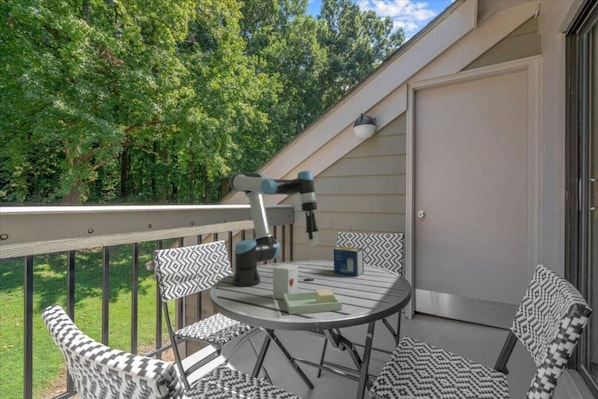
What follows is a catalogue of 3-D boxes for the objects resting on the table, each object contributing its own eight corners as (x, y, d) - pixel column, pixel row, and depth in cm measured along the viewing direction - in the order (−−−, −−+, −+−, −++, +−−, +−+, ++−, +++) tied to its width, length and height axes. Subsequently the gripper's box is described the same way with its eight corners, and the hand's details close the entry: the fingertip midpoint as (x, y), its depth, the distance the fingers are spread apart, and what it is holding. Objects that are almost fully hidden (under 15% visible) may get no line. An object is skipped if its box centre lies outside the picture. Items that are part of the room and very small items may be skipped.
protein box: (341, 270, 200) (341, 246, 200) (363, 273, 191) (363, 248, 191) (333, 273, 192) (333, 248, 192) (356, 277, 183) (356, 250, 183)
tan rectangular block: (315, 301, 140) (315, 290, 140) (328, 300, 141) (328, 289, 141) (320, 307, 132) (320, 295, 132) (334, 306, 133) (333, 294, 133)
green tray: (283, 302, 142) (283, 293, 142) (330, 298, 146) (330, 290, 146) (289, 316, 125) (289, 306, 125) (341, 312, 129) (341, 302, 129)
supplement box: (288, 302, 142) (287, 269, 142) (272, 298, 147) (272, 267, 147) (298, 296, 150) (298, 265, 150) (283, 293, 155) (283, 263, 155)
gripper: (312, 199, 141) (318, 246, 139) (318, 203, 166) (324, 243, 163) (296, 201, 142) (302, 248, 140) (305, 205, 167) (310, 244, 165)
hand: (314, 245), depth 152 cm, fingers open, 13 cm apart
